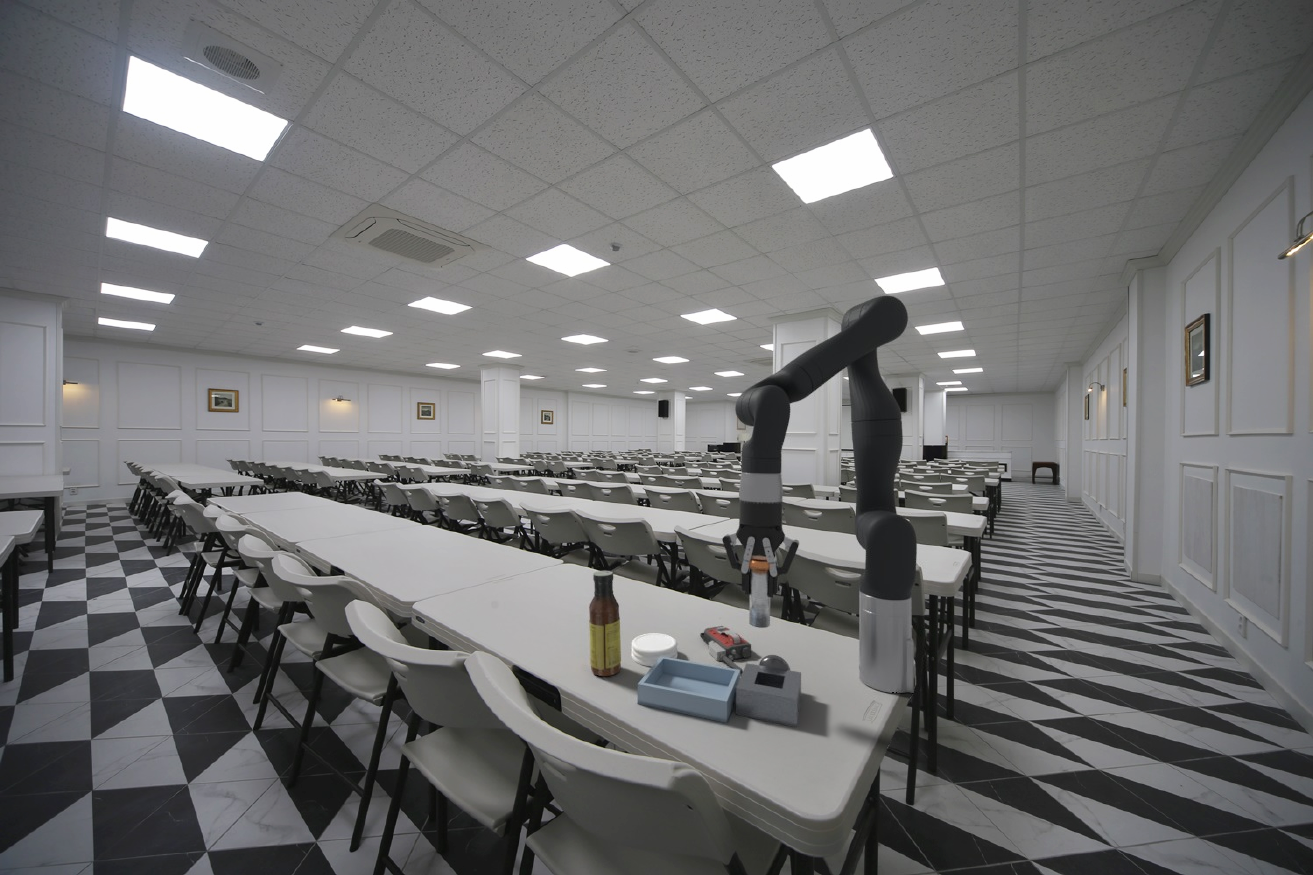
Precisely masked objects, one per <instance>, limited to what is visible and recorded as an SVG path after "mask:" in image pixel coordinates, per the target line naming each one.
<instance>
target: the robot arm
mask: <svg viewBox="0 0 1313 875" xmlns="http://www.w3.org/2000/svg"><path fill="white" fill-rule="evenodd" d="M908 322H909V315H908V311H907V307H906V306H905V304H904V303H903V302H902V301H901V300H900V299H899V298H898V297H895V296H893V295H880V296H876V297H874V298H871V299H869V300H866V301H864V302H862V303H859V304H857V305H855V306H852V307H851V308H849V309H848V310H847V311H846V312H845V313H844V315H843V317H842V320H841V326H840V327H841V329H840V330H841V331H840V332H838V333H836V334H835V335H833V336H831V337H829V338H827V339H825V340H824V341H822V342H820V343H818V344H817V345H815V346H813V347H811V348H809V349H807V350H805V351H804V352H802V353H801V354H800V355H798V356H797V357H795V358H794V359H792V360H791V361H789V363H787V364H786V365H785V366H783V367H781V369H780V370H778V371H776V372H775V373H773V374H772V375H769V376H768V377H766V378H765V377H764V379H762V380H760V381H759V382H756V383H755V384H753V385H752V386H750V387H748V388H747V389H746V390H744V391H743V392H742V393H741V394H740V395H739V396H738V398H737V399H736V402H735V410H734V411H735V415H736V417H737V419H738V421H740V422H741V423H742V424H744V425H745V426H748V427H753V429H752V434H751V437H750V438H749V439H748V440H746V441H745V442H744V443H743V445H742V446H741V468H740V469H741V472H740V473H741V474H740V480H739V491H738V498H739V502H738V503H739V505H738V506H739V511H738V512H739V513H738V514H739V516H738V519H739V520H738V521H739V522H738V525H739V526H738V528H737V530H736V531H735V533H732V534H729V533H727V534H725V535H724V536H723V537H722V539H721V540H722V544H723V546H724V550H725V553H726V556H727V557H728V560H729V563H730V566H731V568H732V569H733V570H737V571H739V572H741V589H742V592H743V591H744V594H745V595H748V596H750V568H749V562H750V560H751V558H752V557H753V556H762V557H766V558H767V563H769V564H770V574H771V575H770V576H769V597H770V598H772V599H773V598H774V597H775V596H776V595H777V594H778V591H779V576H781V575H787V574H788V572H789V570H790V567H791V565H792V564H793V560H794V558H795V555H796V553H797V551H798V548H799V547H800V546H799V545H800V541H799V540H798V539H792V538H789V537H788V536H786V534H785V532H784V529H783V494H784V493H783V492H784V491H783V488H784V487H783V479H782V450H783V447H784V446H783V445H784V443H785V438H786V436H787V431H788V428H789V424H790V418H791V404H793V403H798V402H800V401H802V400H804V399H806V398H807V397H809V396H810V395H811V394H813V393H814V392H815V391H817V390H818V389H820V387H822V386H823V385H825V384H826V383H828V381H829V380H831V379H832V378H833V377H835V376H836V375H838V374H839V373H840V372H842V371H844V369H845V368H846V369H847V377H848V388H849V399H850V417H851V418H850V422H851V425H850V426H851V440H852V450H853V463H854V473H855V474H854V475H855V483H856V484H855V485H856V500H855V517H854V535H855V538H856V540H857V542H858V544H859V545H860V547H861V548H862V549H863V550H865V562H864V563H865V566H864V573H863V574H861V575H860V577H859V583H858V584H859V585H858V586H859V589H858V590H859V593H858V594H859V596H858V597H859V598H858V599H859V601H858V602H859V606H858V607H859V609H858V610H859V614H858V615H859V616H858V617H859V618H858V619H859V624H858V626H859V628H858V629H859V630H858V631H859V636H858V637H859V656H858V657H859V658H858V659H859V660H858V661H859V665H858V671H859V679H860V681H861V682H862V683H864V684H865V685H867V686H868V687H870V688H872V689H874V690H877V691H880V692H885V693H891V694H901V693H902V694H903V693H915V685H914V684H915V682H914V681H915V679H914V675H915V671H914V669H915V668H914V667H915V666H914V665H915V664H914V662H915V659H914V658H915V656H914V655H915V654H914V650H915V649H914V643H915V642H914V639H913V638H912V590H913V587H914V585H915V583H916V575H917V555H918V554H917V552H918V548H917V547H918V543H917V542H918V541H917V534H916V531H915V528H914V526H913V525H912V523H911V522H910V521H909V520H908V519H907V518H905V517H904V516H902V515H901V514H900V515H899V514H898V513H897V508H896V506H897V505H896V497H895V480H896V478H895V477H896V474H897V472H898V467H899V463H900V459H901V455H902V451H903V450H902V449H903V442H904V441H903V439H904V438H903V437H904V435H903V420H902V418H903V417H902V413H901V407H900V406H899V403H898V401H897V400H896V398H895V396H894V395H893V393H892V392H891V390H890V388H889V387H888V386H887V384H886V383H885V381H884V380H883V377H882V375H881V373H880V368H879V361H878V348H880V347H881V346H885V345H886V344H888V343H889V344H890V343H891V342H893V341H895V340H896V339H898V338H900V336H901V335H903V333H904V332H905V330H906V328H907V325H908ZM737 540H738V541H739V543H740V544H741V546H742V547H743V549H744V550H745V551H744V554H743V561H742V560H740V557H739V555H738V553H737V552H738V551H737V549H736V545H737V543H738V542H737ZM783 543H784V550H785V551H786V552H787V554H786V556H785V559H784V561H783V563H782V565H778V560H777V554H776V551H777V550H778V549H779V548H780V546H781V545H783ZM892 692H894V693H892ZM896 692H897V693H896Z"/></svg>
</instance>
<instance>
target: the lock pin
mask: <svg viewBox="0 0 1313 875" xmlns="http://www.w3.org/2000/svg"><path fill="white" fill-rule="evenodd" d="M749 568H750V594H749V608H748V609H749V610H748V611H749V613H748V614H749V615H748V616H749V617H748V619H749V622H748V624H749V625H751V626H752V627H754V628H758V629H764V628H766V629H767V628H768V627H770V626H771V597H769V576H770V575H771V574H770V564H769V563H767V558H766V557H765V556H761V555H755V556H754V555H753V557H752V558H751V560H750V562H749Z"/></svg>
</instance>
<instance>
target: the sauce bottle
mask: <svg viewBox="0 0 1313 875" xmlns="http://www.w3.org/2000/svg"><path fill="white" fill-rule="evenodd" d="M592 576H593V578H592V579H593V582H594V596H593V598H592V599H591V602H590V603H589V607H588V609H589V611H588V612H589V620H588V621H589V623H588V624H589V626H588V628H589V660H590V662H589V664H590V670H591V672H592V673H593V675H595V676H597V675H598V677H599V676H600V677H611V676H614V675H616V674H618V673H619V672H620V671H621V667H622V665H621V661H622V651H621V650H622V648H621V647H622V646H621V618H620V617H621V616H620V605H619V602H618V601H617V599H616V597H615V595H614V590H613V589H614V586H613V584H614V583H613V581H614V572H613V571H611V570H599V571H596V572H594V573H593V575H592Z"/></svg>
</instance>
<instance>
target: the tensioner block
mask: <svg viewBox="0 0 1313 875" xmlns="http://www.w3.org/2000/svg"><path fill="white" fill-rule="evenodd" d="M745 663H746V662H745ZM742 670H743V673H741V674H740V680H739V683H738V685H737V688H736V700H735V707H736V708H735V709H736V710H735V713H736V714H735V715H736V716H741V717H746V718H751V719H755V720H761V721H765V722H769V723H770V722H771V723H775V724H780V725H785V726H790V727H793V728H798V724H799V717H800V709H801V703H802V702H801V700H802V672H801V671H795V670H791V667H790V665H789V664H788V662H787V661H786V660H785V659H784V657H783V658H782V657H781V656H779V655H776V654H769V655H768V654H767V655H766V656H764V657H762V659H761V660H760V661H759V663H758V664H753V663H748V662H747V663H746V664H745V666H744V668H743V669H742Z"/></svg>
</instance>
